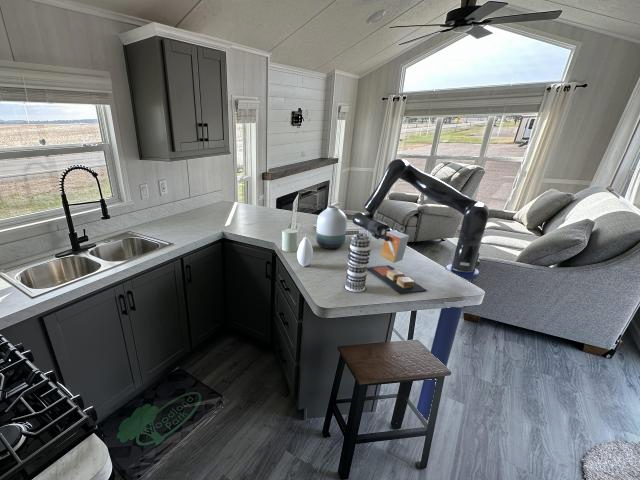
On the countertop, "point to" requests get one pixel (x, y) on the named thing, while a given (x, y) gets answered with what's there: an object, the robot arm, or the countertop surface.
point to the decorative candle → (358, 262)
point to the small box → (394, 246)
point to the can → (289, 240)
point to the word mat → (382, 274)
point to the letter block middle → (394, 274)
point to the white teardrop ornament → (305, 252)
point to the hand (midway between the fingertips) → (396, 238)
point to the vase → (331, 228)
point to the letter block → (405, 282)
